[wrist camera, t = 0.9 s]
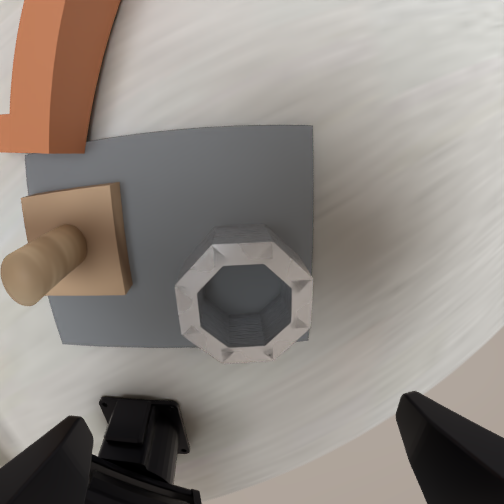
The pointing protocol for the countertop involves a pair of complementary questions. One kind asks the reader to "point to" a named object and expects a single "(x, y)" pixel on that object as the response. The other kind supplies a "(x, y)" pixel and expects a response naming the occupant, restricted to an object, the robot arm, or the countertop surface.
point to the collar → (244, 325)
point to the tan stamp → (70, 246)
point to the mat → (184, 220)
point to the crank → (55, 75)
